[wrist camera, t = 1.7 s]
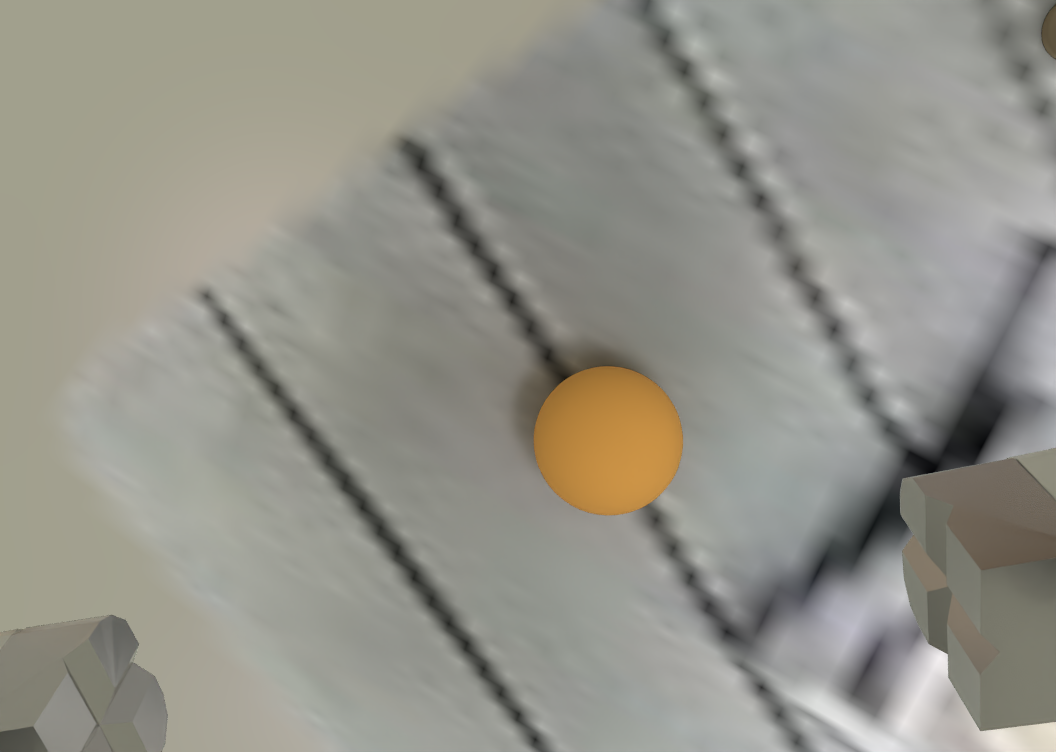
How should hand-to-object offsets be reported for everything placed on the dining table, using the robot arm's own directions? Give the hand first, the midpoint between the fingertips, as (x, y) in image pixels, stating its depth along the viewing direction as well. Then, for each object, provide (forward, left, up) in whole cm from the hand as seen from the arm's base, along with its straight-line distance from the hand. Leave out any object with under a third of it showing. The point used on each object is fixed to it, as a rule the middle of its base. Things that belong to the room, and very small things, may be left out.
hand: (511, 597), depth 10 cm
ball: (-8, +1, -27) cm, 28 cm away
